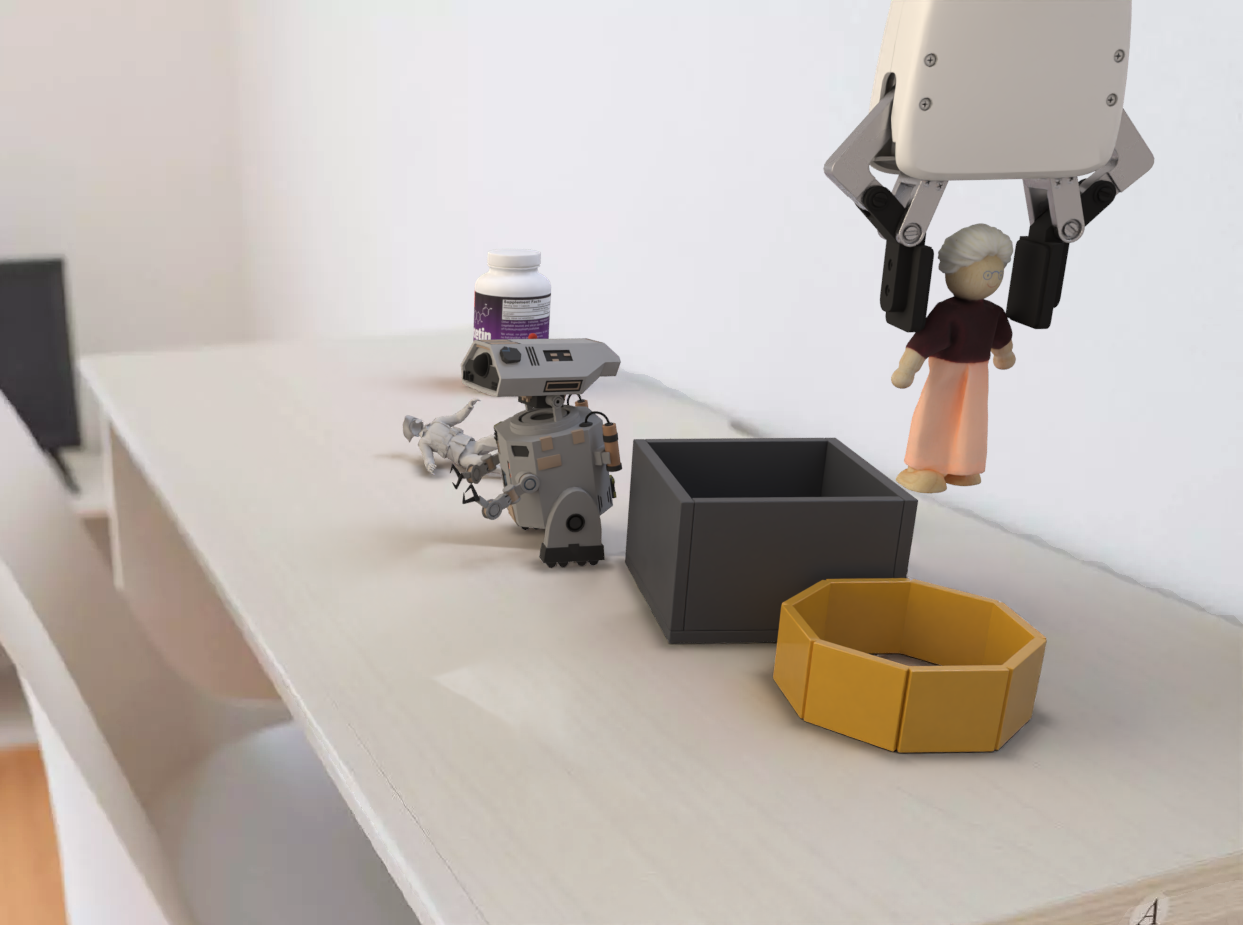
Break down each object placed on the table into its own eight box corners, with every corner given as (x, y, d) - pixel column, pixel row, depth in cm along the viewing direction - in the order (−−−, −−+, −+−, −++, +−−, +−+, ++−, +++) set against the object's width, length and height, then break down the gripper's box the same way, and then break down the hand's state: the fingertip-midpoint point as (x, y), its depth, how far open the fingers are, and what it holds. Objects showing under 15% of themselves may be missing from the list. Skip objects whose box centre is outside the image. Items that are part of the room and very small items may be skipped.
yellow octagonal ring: (960, 648, 75) (972, 577, 73) (1068, 751, 63) (1085, 669, 62) (753, 650, 74) (761, 579, 73) (824, 754, 63) (835, 671, 61)
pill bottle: (466, 380, 141) (469, 247, 136) (538, 379, 142) (543, 246, 137) (478, 397, 134) (481, 257, 128) (554, 395, 134) (560, 256, 129)
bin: (820, 560, 88) (835, 437, 85) (897, 641, 76) (918, 500, 73) (624, 562, 88) (633, 438, 85) (668, 643, 75) (680, 502, 72)
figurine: (438, 530, 94) (441, 327, 89) (589, 523, 96) (601, 322, 91) (461, 574, 86) (465, 353, 81) (626, 566, 87) (641, 347, 82)
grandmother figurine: (936, 505, 61) (975, 233, 57) (866, 486, 64) (898, 226, 59) (1020, 475, 65) (1063, 220, 61) (951, 459, 68) (987, 214, 64)
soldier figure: (495, 502, 104) (374, 439, 108) (500, 525, 108) (384, 463, 112) (544, 426, 106) (423, 367, 109) (547, 452, 110) (431, 394, 114)
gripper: (1168, -87, 59) (1098, 308, 66) (799, -79, 59) (766, 316, 65) (1276, -109, 52) (1186, 336, 59) (858, -100, 52) (815, 345, 58)
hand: (965, 321), depth 62 cm, fingers closed on grandmother figurine, 5 cm apart
